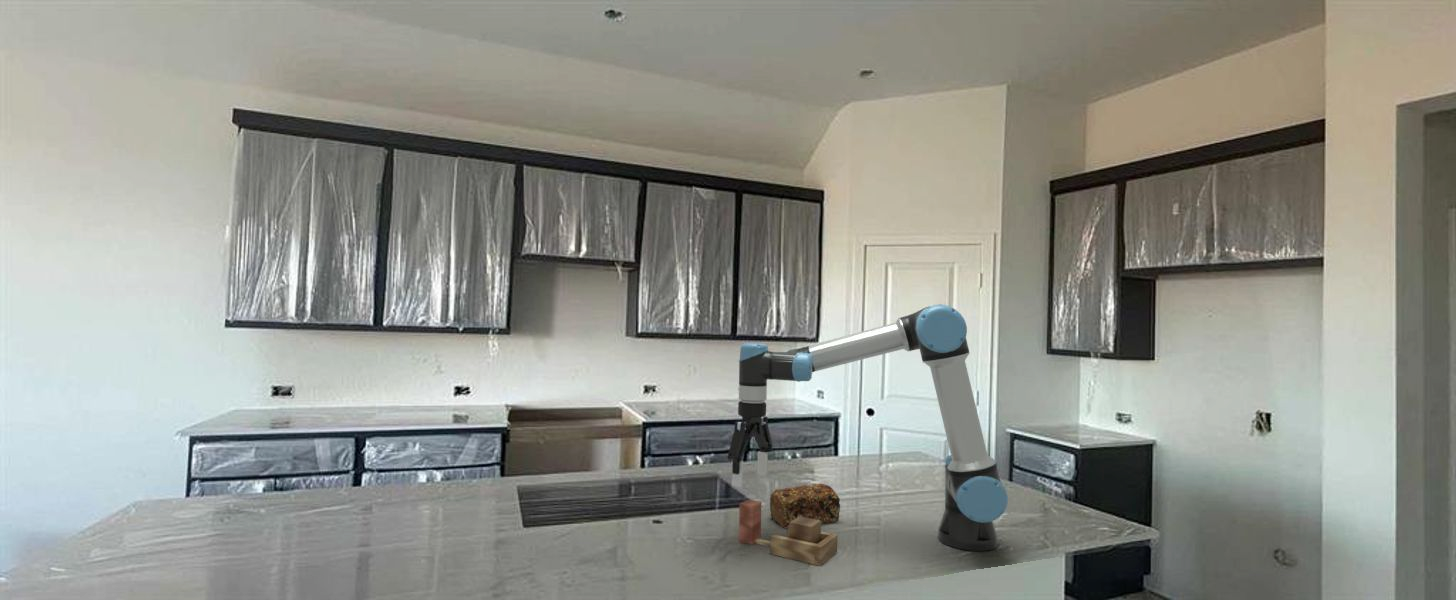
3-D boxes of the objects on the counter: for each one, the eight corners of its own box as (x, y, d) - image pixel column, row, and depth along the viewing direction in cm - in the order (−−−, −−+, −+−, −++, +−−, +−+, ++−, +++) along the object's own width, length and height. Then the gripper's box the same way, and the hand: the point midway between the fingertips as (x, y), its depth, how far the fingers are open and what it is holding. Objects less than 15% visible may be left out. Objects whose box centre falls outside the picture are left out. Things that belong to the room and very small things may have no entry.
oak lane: (837, 552, 162) (837, 534, 162) (820, 565, 153) (820, 547, 153) (789, 541, 169) (789, 524, 170) (770, 553, 160) (770, 536, 160)
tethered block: (820, 552, 162) (821, 512, 162) (810, 559, 157) (811, 518, 157) (748, 535, 173) (749, 498, 173) (737, 542, 168) (738, 504, 168)
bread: (824, 513, 195) (824, 480, 196) (841, 524, 185) (841, 489, 186) (768, 518, 190) (768, 484, 190) (782, 529, 179) (783, 494, 180)
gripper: (762, 395, 183) (760, 469, 183) (715, 404, 162) (713, 488, 161) (785, 397, 179) (783, 473, 179) (741, 407, 158) (738, 493, 157)
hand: (750, 480), depth 170 cm, fingers open, 13 cm apart
